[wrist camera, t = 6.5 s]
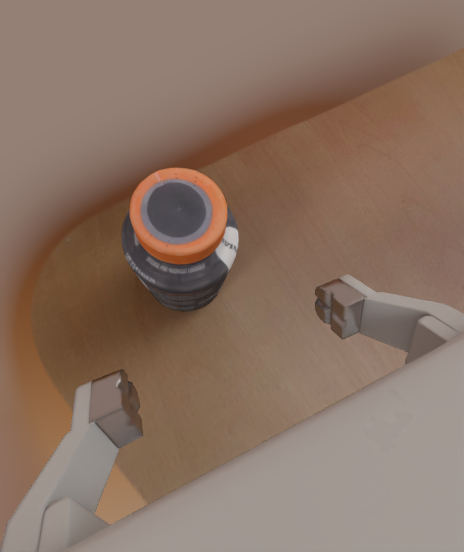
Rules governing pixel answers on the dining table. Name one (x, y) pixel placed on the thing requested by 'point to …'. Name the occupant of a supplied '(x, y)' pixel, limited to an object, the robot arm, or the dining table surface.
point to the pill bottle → (180, 237)
